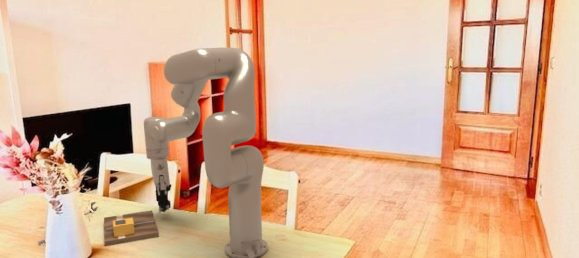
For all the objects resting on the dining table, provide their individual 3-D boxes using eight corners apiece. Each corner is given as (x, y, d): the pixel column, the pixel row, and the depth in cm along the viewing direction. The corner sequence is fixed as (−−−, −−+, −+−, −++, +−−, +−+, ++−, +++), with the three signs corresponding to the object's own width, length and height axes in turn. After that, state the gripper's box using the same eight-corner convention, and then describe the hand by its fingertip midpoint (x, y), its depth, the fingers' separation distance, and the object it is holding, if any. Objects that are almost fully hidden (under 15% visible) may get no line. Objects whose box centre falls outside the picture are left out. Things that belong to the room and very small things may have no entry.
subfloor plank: (158, 236, 139) (158, 229, 139) (104, 246, 133) (104, 238, 133) (152, 214, 157) (151, 207, 157) (104, 221, 151) (103, 214, 151)
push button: (166, 214, 150) (165, 187, 148) (152, 213, 151) (150, 186, 149) (174, 207, 157) (173, 181, 155) (160, 206, 158) (159, 179, 156)
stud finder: (134, 233, 138) (133, 222, 137) (114, 237, 135) (113, 226, 135) (133, 227, 142) (132, 217, 141) (113, 230, 140) (112, 220, 139)
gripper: (172, 156, 144) (176, 209, 147) (165, 146, 159) (169, 194, 163) (148, 159, 141) (153, 212, 145) (144, 148, 156) (148, 197, 160)
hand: (162, 202), depth 154 cm, fingers closed on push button, 4 cm apart
